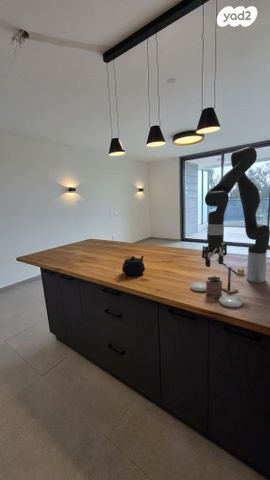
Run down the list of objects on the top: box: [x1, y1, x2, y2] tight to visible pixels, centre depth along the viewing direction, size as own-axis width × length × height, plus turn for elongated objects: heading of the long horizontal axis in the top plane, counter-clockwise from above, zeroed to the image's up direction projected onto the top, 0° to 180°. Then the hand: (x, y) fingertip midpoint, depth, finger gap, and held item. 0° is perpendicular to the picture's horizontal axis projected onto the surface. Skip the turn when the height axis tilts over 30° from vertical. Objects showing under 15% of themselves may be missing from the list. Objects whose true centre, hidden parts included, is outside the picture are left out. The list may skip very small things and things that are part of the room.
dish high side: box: [190, 282, 206, 292], centre depth 117 cm, size 10×10×2 cm
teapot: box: [121, 255, 146, 277], centre depth 146 cm, size 25×16×12 cm, turn 145°
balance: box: [215, 258, 247, 295], centre depth 112 cm, size 5×18×16 cm, turn 27°
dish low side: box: [218, 294, 243, 308], centre depth 99 cm, size 10×10×2 cm
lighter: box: [205, 275, 223, 298], centre depth 107 cm, size 8×3×10 cm, turn 92°
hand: (214, 265), depth 106 cm, fingers open, 8 cm apart
